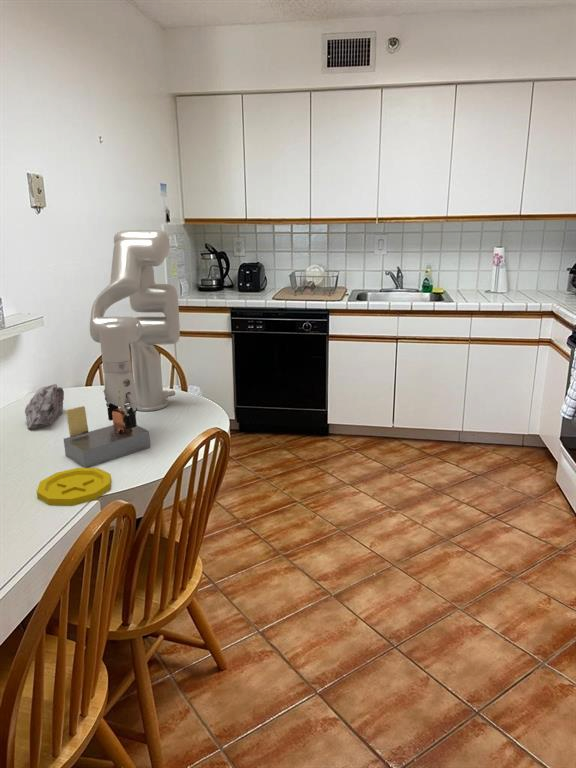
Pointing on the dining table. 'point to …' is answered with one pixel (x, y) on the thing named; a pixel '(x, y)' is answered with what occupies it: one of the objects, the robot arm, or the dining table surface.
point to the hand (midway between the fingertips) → (122, 423)
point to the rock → (44, 406)
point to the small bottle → (119, 421)
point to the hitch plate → (105, 445)
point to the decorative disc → (74, 486)
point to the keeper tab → (77, 421)
